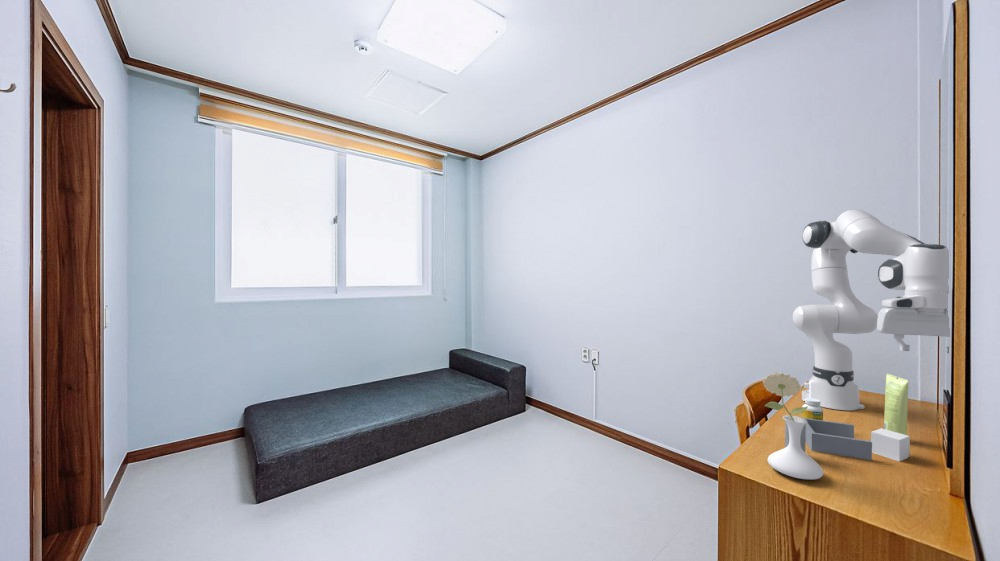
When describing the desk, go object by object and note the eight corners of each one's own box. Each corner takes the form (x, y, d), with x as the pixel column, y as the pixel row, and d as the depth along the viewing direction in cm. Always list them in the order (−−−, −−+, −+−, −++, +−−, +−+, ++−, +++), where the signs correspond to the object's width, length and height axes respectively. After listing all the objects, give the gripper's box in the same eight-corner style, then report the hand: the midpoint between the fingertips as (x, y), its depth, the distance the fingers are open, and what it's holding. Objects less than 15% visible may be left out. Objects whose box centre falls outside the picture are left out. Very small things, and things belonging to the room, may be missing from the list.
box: (799, 432, 123) (799, 417, 122) (852, 440, 117) (852, 424, 117) (811, 450, 110) (811, 433, 110) (871, 460, 104) (871, 442, 104)
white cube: (909, 457, 106) (909, 436, 106) (899, 462, 104) (899, 440, 104) (880, 448, 112) (881, 428, 112) (870, 452, 109) (870, 431, 109)
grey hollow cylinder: (786, 450, 110) (786, 414, 110) (806, 455, 107) (806, 419, 107) (783, 455, 107) (783, 419, 107) (803, 461, 104) (804, 423, 104)
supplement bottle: (811, 425, 129) (812, 396, 129) (827, 431, 124) (827, 401, 123) (797, 425, 128) (798, 397, 128) (812, 432, 123) (813, 402, 123)
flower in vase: (830, 475, 96) (831, 376, 96) (814, 490, 90) (816, 384, 90) (770, 455, 107) (771, 366, 107) (752, 467, 100) (753, 372, 100)
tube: (911, 441, 116) (912, 377, 116) (907, 445, 114) (908, 379, 113) (885, 434, 121) (886, 373, 121) (881, 438, 118) (881, 375, 118)
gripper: (975, 302, 104) (975, 354, 104) (874, 300, 113) (874, 347, 113) (991, 303, 98) (991, 357, 98) (883, 301, 107) (883, 350, 107)
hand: (928, 352), depth 105 cm, fingers open, 8 cm apart
